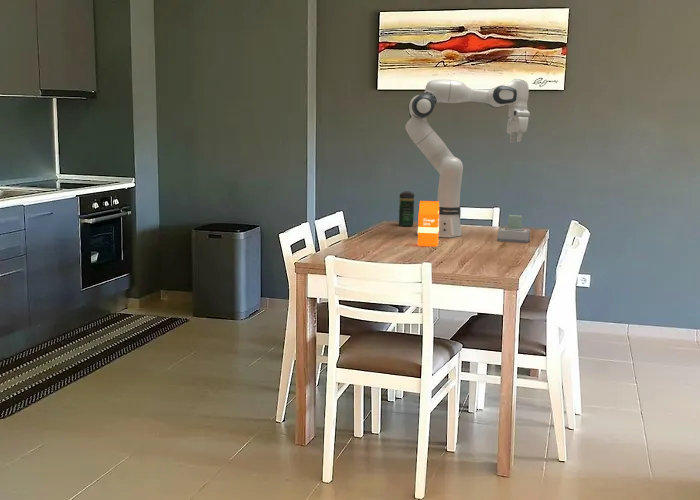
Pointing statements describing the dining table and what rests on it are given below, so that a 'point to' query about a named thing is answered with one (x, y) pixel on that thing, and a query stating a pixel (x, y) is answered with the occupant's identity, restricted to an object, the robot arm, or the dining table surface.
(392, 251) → the dining table surface
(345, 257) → the dining table surface
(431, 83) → the robot arm
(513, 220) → the green rectangular block
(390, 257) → the dining table surface
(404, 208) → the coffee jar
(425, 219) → the orange juice
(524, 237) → the gray slotted block
